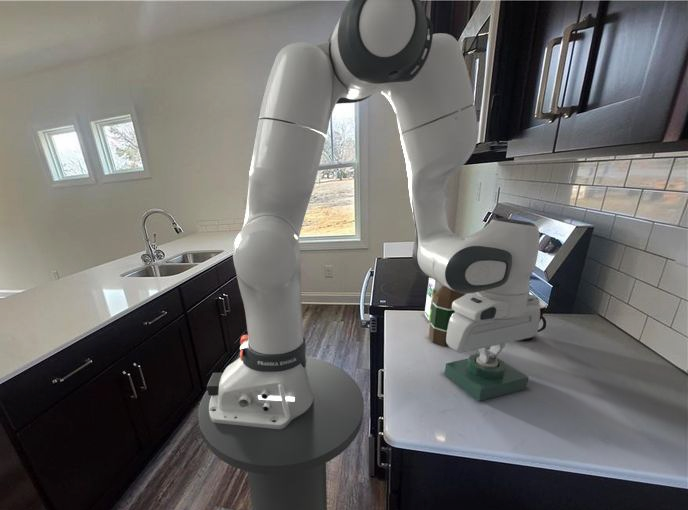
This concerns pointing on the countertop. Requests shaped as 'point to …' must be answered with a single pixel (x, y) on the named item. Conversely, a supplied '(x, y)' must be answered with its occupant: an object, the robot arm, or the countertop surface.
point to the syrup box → (431, 296)
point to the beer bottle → (442, 314)
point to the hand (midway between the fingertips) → (487, 360)
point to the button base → (485, 378)
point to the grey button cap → (487, 365)
